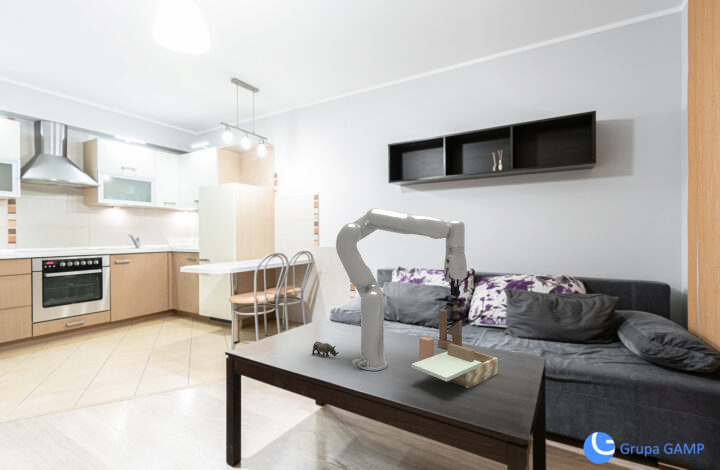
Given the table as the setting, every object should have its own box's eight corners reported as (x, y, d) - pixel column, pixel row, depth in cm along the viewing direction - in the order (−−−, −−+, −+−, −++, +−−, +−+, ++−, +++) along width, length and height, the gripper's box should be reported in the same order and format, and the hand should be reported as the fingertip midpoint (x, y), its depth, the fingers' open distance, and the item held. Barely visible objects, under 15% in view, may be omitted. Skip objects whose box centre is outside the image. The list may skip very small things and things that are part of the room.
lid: (446, 381, 105) (446, 365, 105) (411, 367, 116) (411, 352, 117) (481, 365, 118) (481, 351, 118) (447, 354, 130) (447, 341, 130)
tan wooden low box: (468, 388, 113) (468, 371, 114) (435, 375, 124) (435, 359, 124) (497, 373, 126) (497, 358, 126) (465, 363, 137) (465, 348, 137)
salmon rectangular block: (427, 364, 135) (427, 340, 135) (419, 361, 138) (419, 338, 139) (433, 362, 137) (433, 338, 138) (425, 359, 141) (425, 336, 141)
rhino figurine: (335, 360, 140) (335, 346, 140) (310, 355, 147) (310, 341, 147) (340, 357, 143) (340, 344, 143) (315, 352, 150) (315, 339, 150)
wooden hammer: (459, 352, 150) (459, 313, 150) (437, 347, 157) (437, 310, 157) (462, 350, 153) (462, 311, 153) (441, 345, 160) (440, 308, 160)
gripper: (451, 251, 127) (451, 298, 127) (473, 251, 136) (473, 295, 136) (436, 251, 133) (436, 296, 133) (457, 250, 142) (457, 292, 142)
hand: (454, 295), depth 134 cm, fingers closed
